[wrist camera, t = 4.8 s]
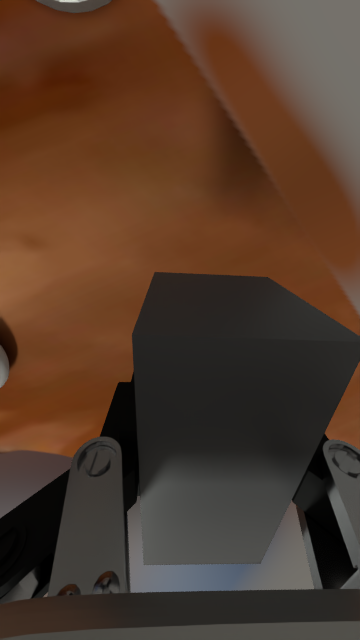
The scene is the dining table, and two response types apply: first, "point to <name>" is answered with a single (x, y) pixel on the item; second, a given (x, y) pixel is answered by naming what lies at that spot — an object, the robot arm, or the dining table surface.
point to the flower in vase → (3, 367)
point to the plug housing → (229, 411)
